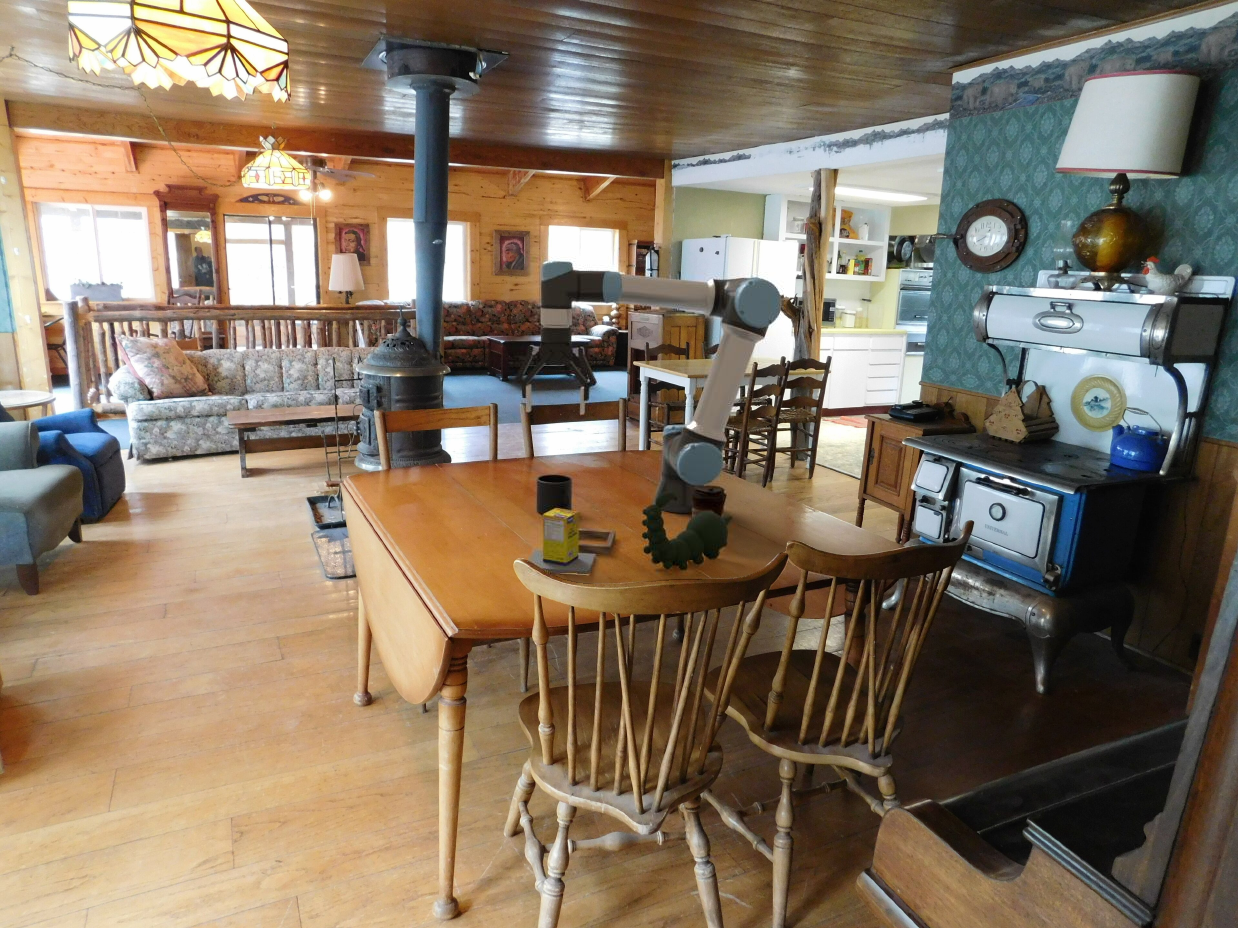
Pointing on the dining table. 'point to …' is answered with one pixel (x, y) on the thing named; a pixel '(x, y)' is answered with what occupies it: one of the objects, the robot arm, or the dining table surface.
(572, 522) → the supplement box
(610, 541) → the frame
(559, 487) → the mug
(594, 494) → the dining table surface
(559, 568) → the mat
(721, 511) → the coffee cup
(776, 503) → the dining table surface
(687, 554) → the toy figurine
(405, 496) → the dining table surface
